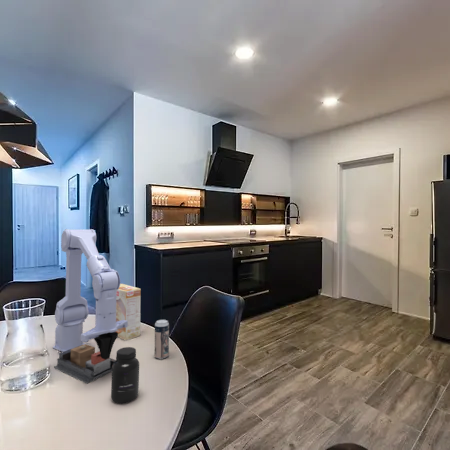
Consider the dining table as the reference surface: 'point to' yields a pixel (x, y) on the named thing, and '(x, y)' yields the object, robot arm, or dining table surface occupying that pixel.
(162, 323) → the beer can
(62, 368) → the grey tray
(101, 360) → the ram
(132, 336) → the coffeecake box
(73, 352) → the wooden block
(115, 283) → the robot arm
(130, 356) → the supplement bottle
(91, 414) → the dining table surface
